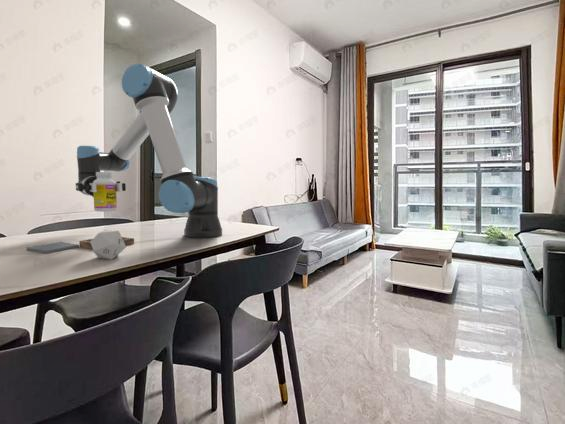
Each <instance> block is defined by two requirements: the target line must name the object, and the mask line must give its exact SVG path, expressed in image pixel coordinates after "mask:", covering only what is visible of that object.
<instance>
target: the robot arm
mask: <svg viewBox="0 0 565 424" xmlns="http://www.w3.org/2000/svg"><path fill="white" fill-rule="evenodd" d="M121 88H122V91H123V92H124V93H125V95H127V96H128V97H130V98H132V100H133V103H134V106H135V108H136V109H137V111H139V112H140V113H139V114H138V115H137V116H136V118H135V119H134V120H133V122H132V123H131V124H130V126H128V128H127V130H125V132H124V133H123V134H122V136H121V137H120V138H119V139H118V141H117V142H116V143H115V145H114V146H112V147H113V148H112V149H111V150H110V151H109V152H101V151H100V148H99V146H96V145H95V146H94V145H79V146H77V147H76V160H77V161H76V162H77V173H78V174H77V176H78V178H77V179H78V180H77V181H78V182H75V190H76V191H77V192H80V193H82V194H83V195H85V196H91V197H92V199H94V194H93V192H97V191H96V183H93V181H94V180H96V179H97V177H96V172H109V171H110V172H124V171H127V170H128V169H129V168H130V159H131V157H132V156H133V155H134V154H135V152H137V150H138V149H139V148H140V146H141V145H142V144H143V143H144V142H145V140H146V139H148V137H150V139H151V142H152V146H153V149H154V151H155V155H156V157H157V161H158V163H159V167H160V170H161V172H162V176H161V178H160V184H161V185H160V187H159V191H158V199H159V202H160V203H161V205H162V207H163V208H164V209H166V210H167V211H168V212H171V213H174V214H185V213H188V214H187V215H188V216H187V219H186V223H185V226H184V227H185V228H184V230H183V235H184V237H188V238H193V239H194V238H196V239H197V238H200V239H202V238H204V239H205V238H215V237H220V236H222V235H223V228H222V225H221V221H220V218H219V213H218V212H219V211H218V210H219V209H218V208H219V205H218V203H219V202H218V201H219V199H218V198H219V197H218V196H219V193H218V190H219V187H218V181H217V180H216V178H215V179H214V178H213V177H205V176H204V177H203V176H195V175H194V172H193V171H192V170H190V169H188V168H187V164H186V162H185V158H184V155H183V152H182V150H181V147H180V144H179V140H178V137H177V135H176V132H175V128H174V126H173V123H172V120H171V116H170V115H171V113H172V111H173V110H174V109H175V108H176V107H175V106H176V104H177V101H178V98H179V97H178V96H179V94H178V88H177V86H176V84H175V82H174V81H173V80H172V79H171V78H170V77H168V76H167V75H164V74H162V73H161V72H158V71H156V70H155V69H153V68H151V67H150V66H147V65H144V64H141V63H135V64H134V63H133V64H131V65H130V66H128V67H127V68H126V69H125V71H124V72H123V75H122V77H121ZM126 189H127V186H126V183H125V182H122V183H121V181H120V180H119V181H116V192H117V193H119V192H120V193H121V192H125V191H126Z"/></svg>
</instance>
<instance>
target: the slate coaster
mask: <svg viewBox="0 0 565 424" xmlns="http://www.w3.org/2000/svg"><path fill="white" fill-rule="evenodd" d="M76 248H80V244H78V243H77V244H76V243H71V242H65V241H58V242H57V241H56V242H52V243H45V244H40V245H34V246H33V245H32V246H27V247H26V251H29V252H36V253H41V254H50V253H54V252H61V251H66V250H71V249H76Z"/></svg>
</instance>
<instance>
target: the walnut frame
mask: <svg viewBox="0 0 565 424" xmlns="http://www.w3.org/2000/svg"><path fill="white" fill-rule="evenodd" d="M121 237H122V239H123V241H124V243H125V245H126V247H127V246H133V245H134V244H135V238H134V237H127V236H121ZM92 239H93V238H88V239H83V240H79V244H78V245H79V248H86V249H89V250H90V249H91V250H93V248H92V245H91V243H90V241H91V240H92Z"/></svg>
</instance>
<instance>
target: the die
mask: <svg viewBox="0 0 565 424" xmlns="http://www.w3.org/2000/svg"><path fill="white" fill-rule="evenodd" d="M122 237H123V236H122V235H121V232H120V231H119V230H109V229H104V230H102V231H99V232H98V233H97V234H96V235H95V236H94V237H93V238H91V239H92V240H91V241H90V243H91V245H92V248H93V249H92V250H93V253H94V254H95V255H96V257H97V258H98V259H104V260H113V259H114V258H116V257H117V256H119V254H121V253H122V252H123V251H124V250H125V249H126V248H127V246H126V245H125V243H124V241H123V239H122Z"/></svg>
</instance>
